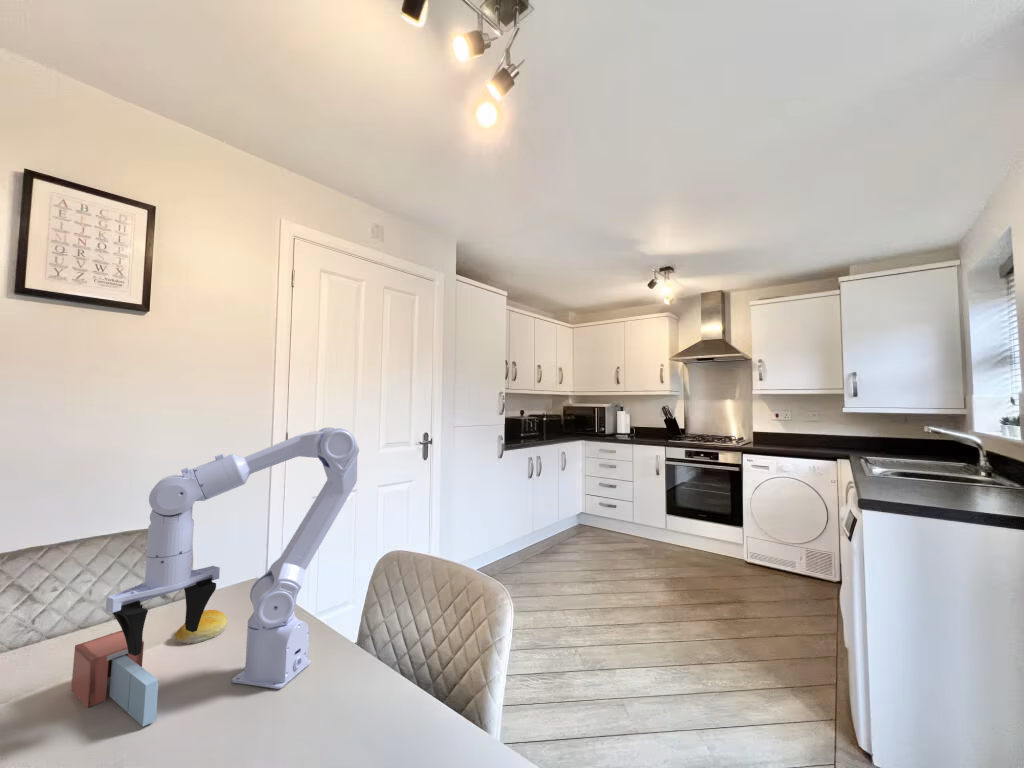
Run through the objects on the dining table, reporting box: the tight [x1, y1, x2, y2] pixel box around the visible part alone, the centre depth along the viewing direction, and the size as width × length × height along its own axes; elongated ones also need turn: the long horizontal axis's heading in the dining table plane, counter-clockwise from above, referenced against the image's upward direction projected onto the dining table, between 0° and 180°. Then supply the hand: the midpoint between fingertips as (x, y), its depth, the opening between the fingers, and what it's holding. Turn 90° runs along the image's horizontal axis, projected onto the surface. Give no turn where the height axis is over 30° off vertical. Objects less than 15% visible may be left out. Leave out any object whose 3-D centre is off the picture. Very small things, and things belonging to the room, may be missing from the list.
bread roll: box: [174, 609, 229, 645], centre depth 88 cm, size 8×9×4 cm
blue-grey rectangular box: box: [108, 655, 160, 727], centre depth 65 cm, size 13×2×6 cm, turn 59°
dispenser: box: [70, 629, 145, 708], centre depth 70 cm, size 8×6×7 cm
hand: (164, 641), depth 67 cm, fingers open, 7 cm apart
